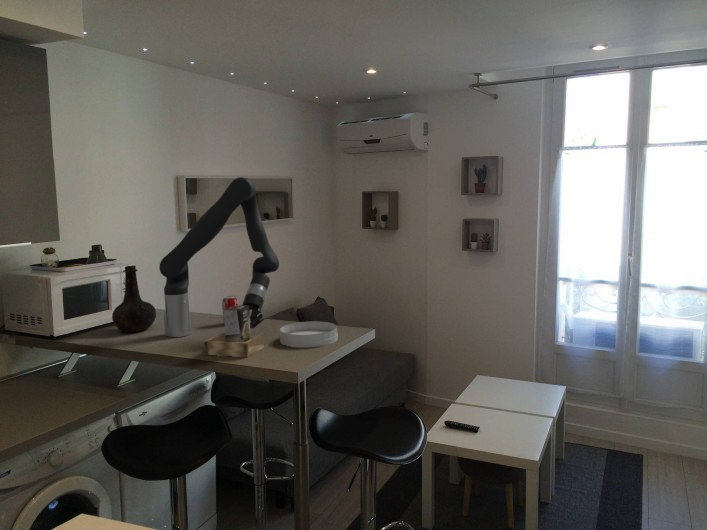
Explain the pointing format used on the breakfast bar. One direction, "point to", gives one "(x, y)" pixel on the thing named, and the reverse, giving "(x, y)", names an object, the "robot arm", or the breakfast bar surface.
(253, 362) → the breakfast bar surface
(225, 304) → the soda can
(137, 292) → the glass bottle
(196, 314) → the breakfast bar surface
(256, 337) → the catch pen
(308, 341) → the dish
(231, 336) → the coffee box
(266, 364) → the breakfast bar surface
